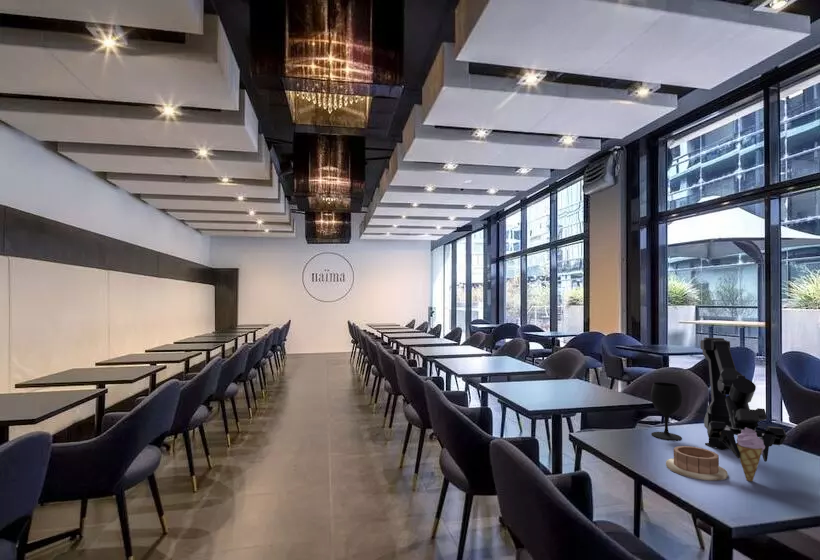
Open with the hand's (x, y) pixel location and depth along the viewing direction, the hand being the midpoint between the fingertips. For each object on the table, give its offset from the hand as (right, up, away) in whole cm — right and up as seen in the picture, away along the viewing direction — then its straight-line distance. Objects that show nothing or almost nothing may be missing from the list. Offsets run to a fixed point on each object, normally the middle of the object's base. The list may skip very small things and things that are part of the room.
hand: (752, 459), depth 131 cm
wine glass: (0, -9, +43) cm, 44 cm away
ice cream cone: (0, -7, +1) cm, 7 cm away
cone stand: (-11, -7, +9) cm, 15 cm away
